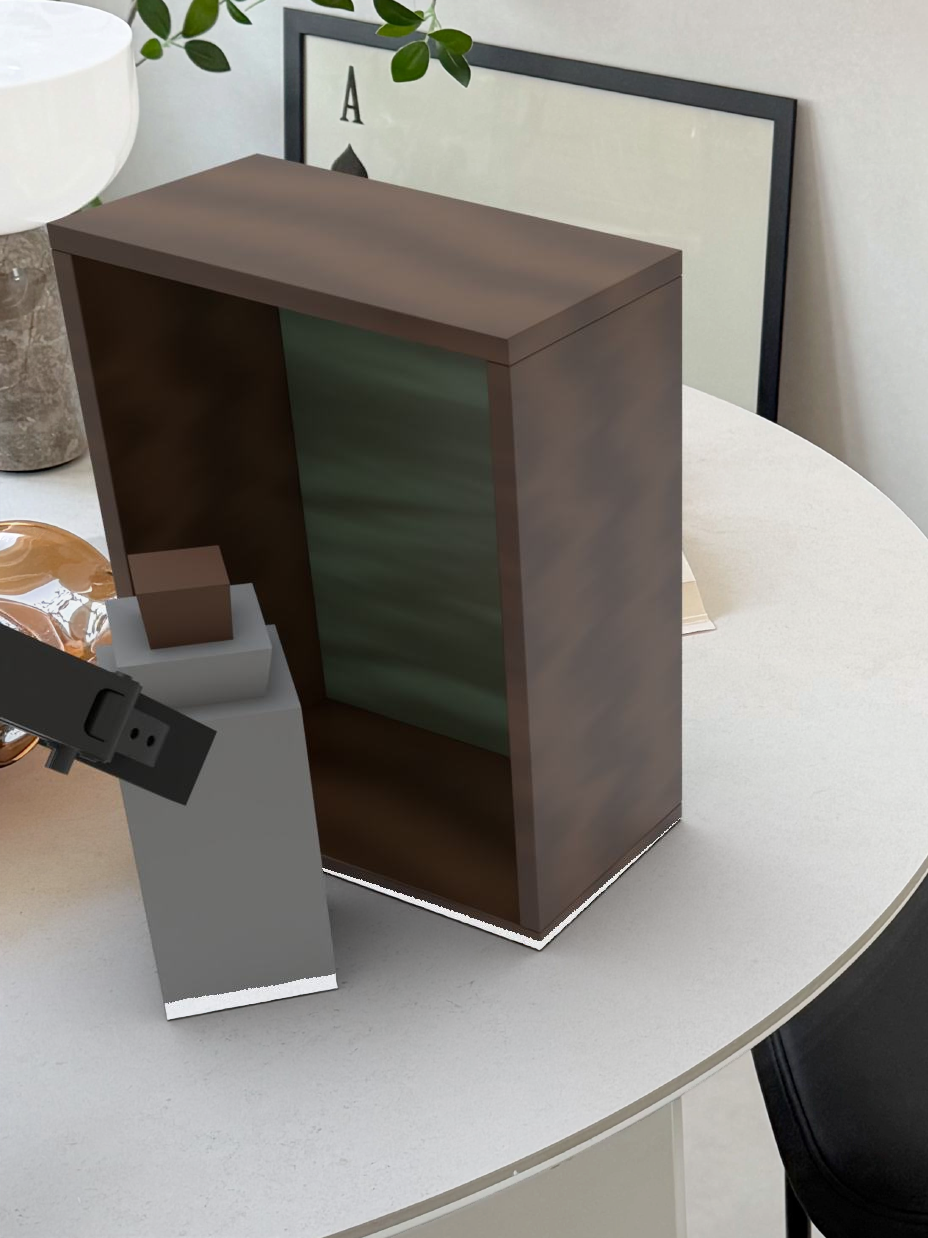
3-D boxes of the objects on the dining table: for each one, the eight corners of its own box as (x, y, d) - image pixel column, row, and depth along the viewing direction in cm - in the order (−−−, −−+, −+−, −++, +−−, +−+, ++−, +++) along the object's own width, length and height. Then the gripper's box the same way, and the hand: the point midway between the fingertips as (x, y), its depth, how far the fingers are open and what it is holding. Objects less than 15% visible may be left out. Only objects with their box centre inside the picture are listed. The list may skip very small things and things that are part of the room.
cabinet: (540, 952, 84) (507, 338, 68) (157, 812, 90) (45, 222, 75) (682, 818, 93) (683, 249, 77) (324, 700, 99) (256, 152, 83)
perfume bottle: (338, 988, 81) (286, 599, 70) (167, 1020, 79) (87, 622, 68) (312, 897, 86) (260, 520, 75) (150, 924, 84) (73, 540, 73)
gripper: (-109, 420, 44) (374, 708, 64) (-808, 208, 52) (-182, 524, 72) (-247, 726, 43) (285, 921, 63) (-937, 465, 51) (-267, 712, 71)
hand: (38, 710), depth 67 cm, fingers open, 13 cm apart
